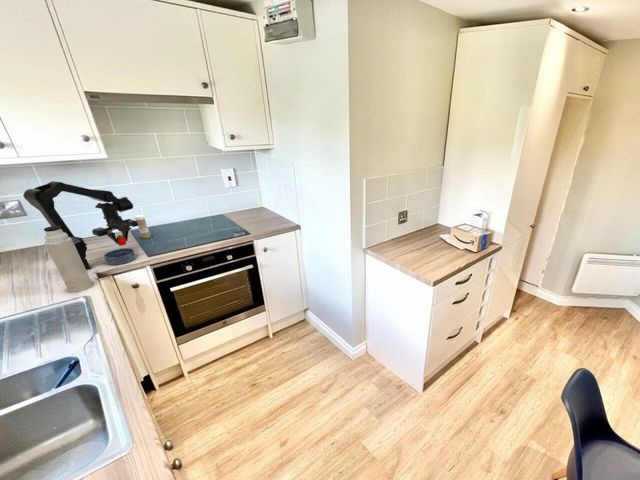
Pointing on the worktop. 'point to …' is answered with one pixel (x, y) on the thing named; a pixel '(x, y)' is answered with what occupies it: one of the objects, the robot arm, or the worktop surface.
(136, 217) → the sprinkles bottle
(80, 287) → the thermos bottle
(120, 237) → the strawberry
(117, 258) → the bowl
